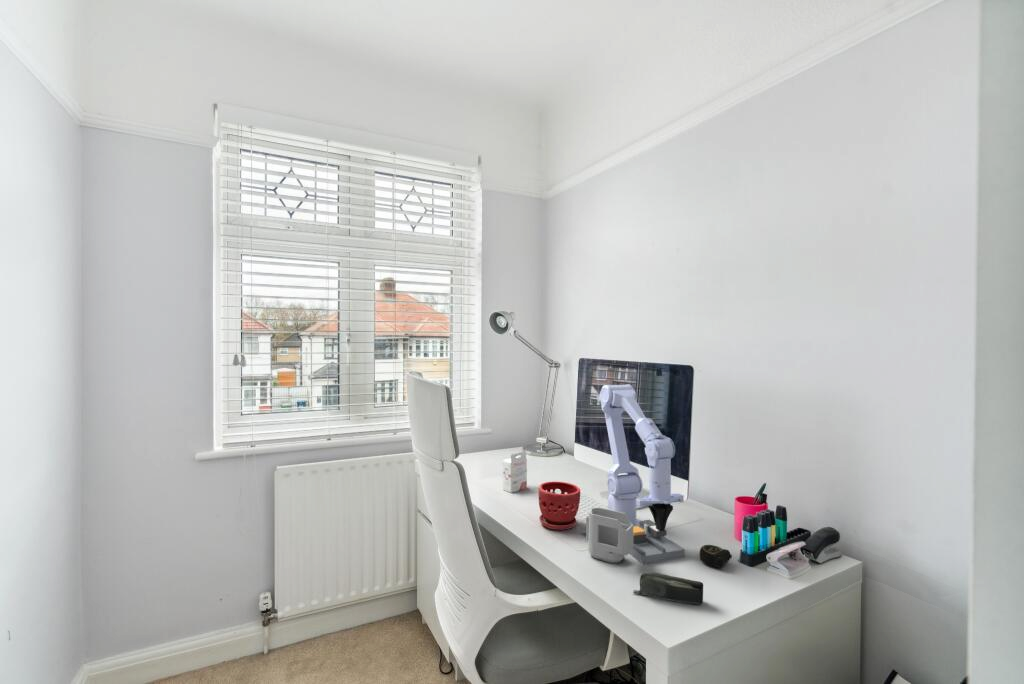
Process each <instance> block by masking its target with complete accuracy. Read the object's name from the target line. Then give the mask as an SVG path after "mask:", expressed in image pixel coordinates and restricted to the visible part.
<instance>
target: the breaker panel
mask: <svg viewBox="0 0 1024 684" xmlns="http://www.w3.org/2000/svg"><path fill="white" fill-rule="evenodd" d="M639 527H640V526H639ZM640 528H641V529H643V528H642V527H640ZM643 530H644V531H645V534H646V543H642V544H634V543H633V550H632V551H631V552H630V553H629V554H628V555H630V556H632V557H633V558H634V559H636V561H638V562H639V563H640V564H641V565H645V564H651V563H657V562H663V561H667V560H673V559H680V558H685V556H686V555H685V552H686V551H685V549H684V548H683V547H682V546H680V545H679V544H677V543H676V542H674V541H672V540H671V539H669V538H667V537H666V536H661V537H655V536H654V535H652V534H651V533H649V532H648V525H646V524H644V529H643Z"/></svg>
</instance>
